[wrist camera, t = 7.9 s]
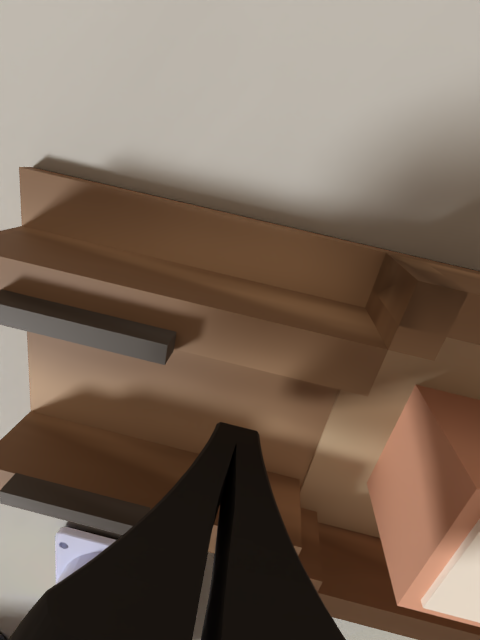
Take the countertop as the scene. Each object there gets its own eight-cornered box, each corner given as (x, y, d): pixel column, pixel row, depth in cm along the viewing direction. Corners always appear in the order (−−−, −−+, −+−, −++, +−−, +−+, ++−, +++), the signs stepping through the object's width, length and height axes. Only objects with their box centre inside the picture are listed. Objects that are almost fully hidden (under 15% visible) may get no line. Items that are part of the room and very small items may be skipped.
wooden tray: (528, 583, 17) (603, 713, 13) (41, 457, 18) (-32, 544, 14) (753, 335, 11) (1008, 427, 7) (31, 167, 12) (-97, 167, 8)
